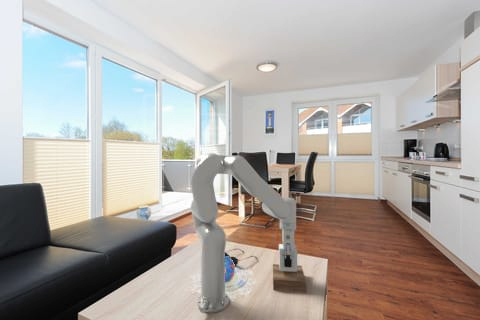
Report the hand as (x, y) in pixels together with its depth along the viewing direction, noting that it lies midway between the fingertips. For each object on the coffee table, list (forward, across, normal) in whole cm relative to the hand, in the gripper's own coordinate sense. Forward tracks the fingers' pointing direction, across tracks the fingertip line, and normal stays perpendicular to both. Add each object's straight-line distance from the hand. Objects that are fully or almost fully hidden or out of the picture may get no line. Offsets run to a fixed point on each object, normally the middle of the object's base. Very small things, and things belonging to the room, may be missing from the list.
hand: (287, 263), depth 105 cm
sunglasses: (+10, +19, +26) cm, 34 cm away
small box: (+3, 0, 0) cm, 3 cm away
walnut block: (+9, 0, 0) cm, 9 cm away
